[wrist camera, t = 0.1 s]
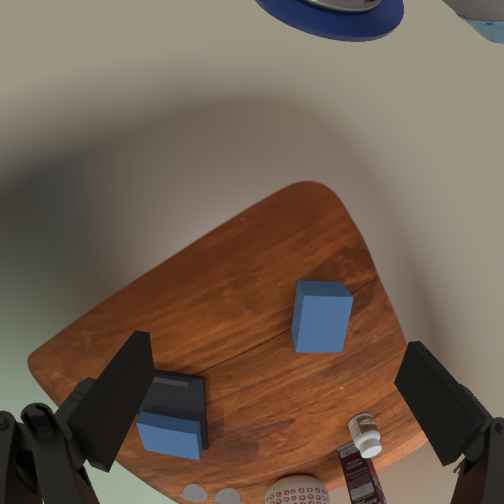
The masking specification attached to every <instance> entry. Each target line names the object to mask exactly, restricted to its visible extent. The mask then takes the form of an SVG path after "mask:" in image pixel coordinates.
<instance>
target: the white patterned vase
mask: <svg viewBox="0 0 504 504" xmlns="http://www.w3.org/2000/svg"><path fill="white" fill-rule="evenodd" d="M264 504H330V501H329V495H328V491H327V489H326V487H325V486H324V484H323V483H322V482H320V481H319V480H317V479H316V478H314V477H312V476H310V475H305V474H296V475H289V476H285V477H283V478H280V479H279V480H277V481H276V482H275V483H274V484H273V485H272V486H271V487H270V488H269V489H268V491H267V493H266V495H265V500H264Z"/></svg>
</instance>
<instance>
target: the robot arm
mask: <svg viewBox="0 0 504 504" xmlns="http://www.w3.org/2000/svg"><path fill="white" fill-rule="evenodd" d="M298 1H300V2H301V3H303V4H306V5H308V6H310V7H313V8H315V9H318V10H321V11H325V12H329V13H333V14H340V15H361V14H366V13H368V12H371V11H373V10H374V9H375V8H376V7H377V6H378V5H379V3H380V2H381V1H382V0H298ZM442 1H444V2H445V3H446V4H447V5H448V6H449V7H450V8H452V9H453V10H454V11H455V12H456V14H457V15H458V16H459V17H460V18H461V19H463V20H465V21H466V22H467V23H469V24H470V25H471V26H472V27H473V28H474V29H475V30H476V31H477V32H478V33H479V34H480V35H481V36H483V37H484V38H486V39H487V40H489V41H492V42H495V43H500V44H504V0H442ZM154 378H155V372H154V365H153V358H152V350H151V342H150V333H149V332H143V331H136V330H135V331H134V332H133V334H132V335H131V336H130V337H129V339H128V340H127V341H126V343H125V344H124V345H123V346H122V348H121V349H120V350H119V351H118V353H117V354H116V355H115V356H114V358H113V359H112V360H111V362H110V363H109V364H108V366H107V367H106V368H105V369H104V371H103V372H102V373H101V375H100V376H99V377H98V379H97V380H96V379H93V378H90V377H88V378H86V379H85V380H83V381H81V382H80V383H79V384H78V385H77V386H76V387H75V389H74V390H73V392H71V394H70V395H69V397H68V398H67V399H66V400H65V401H64V402H63V404H62V405H61V406H60V407H59V409H58V410H57V412H56V413H55V414H53V412H52V410H51V408H50V407H49V406H47V405H46V404H43V403H33V404H29V405H28V406H26V407H25V408H24V409H23V410H22V412H21V419H22V421H23V423H24V424H23V423H19V422H17V421H16V420H15V418H14V416H13V415H12V414H11V413H9V412H6V411H0V504H43V501H44V504H100V503H99V501H98V499H97V497H96V495H95V492H94V490H93V487H92V485H91V482H90V480H89V477H88V475H87V472H86V469H85V467H84V466H83V464H84V462H85V460H86V459H87V460H88V462H89V463H90V465H91V466H92V467H95V468H97V469H100V470H103V471H105V472H109V471H110V468H111V466H112V464H113V462H114V460H115V458H116V456H117V454H118V451H119V449H120V447H121V445H122V443H123V441H124V439H125V437H126V435H127V433H128V431H129V428H130V426H131V424H132V422H133V420H134V418H135V416H136V414H137V412H138V410H139V408H140V406H141V404H142V402H143V400H144V398H145V396H146V394H147V392H148V390H149V388H150V386H151V384H152V382H153V380H154ZM394 384H395V385H396V387H397V388H398V390H399V392H400V393H401V395H402V396H403V398H404V400H405V401H406V403H407V405H408V406H409V408H410V409H411V411H412V413H413V414H414V416H415V418H416V420H417V421H418V423H419V425H420V426H421V428H422V430H423V431H424V433H425V435H426V437H427V438H428V440H429V442H430V443H431V445H432V447H433V449H434V451H435V452H436V454H437V456H438V458H439V460H440V461H441V463H442V465H443V466H446V465H449V464H450V463H453V462H456V460H457V459H458V458H459V457H460V456H461V454H462V453H463V454H464V455H465V458H464V459H463V460H462V461H461V462H460V463H459V465H458V466H457V467H456V468H455V469H454V471H453V473H455V472H456V471H457V470H458V469H459V468H460V471H459V472H458V474H459V476H458V479H457V483H456V487H455V490H454V494H453V497H452V500H451V503H450V504H504V418H501V417H497V418H493V417H492V416H491V415H490V414H489V412H488V411H487V410H486V409H485V408H484V406H483V405H482V404H481V403H480V402H479V401H478V399H477V398H476V397H475V396H474V395H473V394H472V392H471V391H470V390H469V389H468V388H466V387H465V386H463V385H462V384H459V383H458V382H457V381H456V380H455V379H454V378H453V377H452V375H450V374H449V372H448V371H447V370H446V369H445V368H444V367H443V366H442V364H441V363H440V362H439V361H438V360H437V359H436V358H435V357H434V356H433V355H432V353H431V352H430V351H429V350H428V349H427V348H426V347H425V346H424V345H423V344H422V343H421V342H420V341H415V342H409V343H408V346H407V349H406V352H405V355H404V358H403V361H402V363H401V366H400V369H399V371H398V374H397V377H396V379H395V382H394ZM42 497H43V500H42Z"/></svg>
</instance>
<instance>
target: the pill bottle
mask: <svg viewBox="0 0 504 504" xmlns="http://www.w3.org/2000/svg"><path fill="white" fill-rule="evenodd" d="M348 426H349V430H350V433H351V435H352V439H353V442H354V444H355V447H356V448H357V449H360V453H361V456H362V457H363V458H370V457H373V456H375V455H377V454H378V453H379V452H380V451H381V450H382V446H381V443H380V442H379V440H380V434H379V431H378V429H377V427H376V424H375V422H374V420H373V418H372V416H371V415H370V414H367V413H363V414H359V415H357V416H355V417H353V418H352V419H351V420H350V422H349V425H348Z"/></svg>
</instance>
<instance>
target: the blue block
mask: <svg viewBox="0 0 504 504" xmlns="http://www.w3.org/2000/svg"><path fill="white" fill-rule="evenodd" d="M353 298H354V297H353V296H352V295H351V293H350V292H349V291H348V290H347V289H346V288H345V286H344V285H343V284H342V283H341V282H327V281H306V280H298V281H297V289H296V297H295V306H294V313H293V321H292V328H291V333H292V337H293V342H294V347H295V351H296V352H342V349H343V345H344V340H345V336H346V332H347V327H348V322H349V318H350V313H351V308H352V303H353Z"/></svg>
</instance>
